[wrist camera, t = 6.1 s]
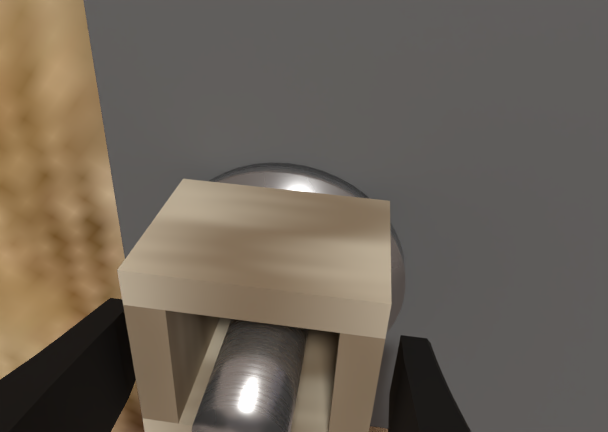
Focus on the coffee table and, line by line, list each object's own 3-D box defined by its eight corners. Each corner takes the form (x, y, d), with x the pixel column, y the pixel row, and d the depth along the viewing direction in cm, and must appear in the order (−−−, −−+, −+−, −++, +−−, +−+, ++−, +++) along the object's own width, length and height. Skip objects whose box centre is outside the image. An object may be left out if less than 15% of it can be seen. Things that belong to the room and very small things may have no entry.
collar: (390, 201, 13) (391, 303, 10) (366, 353, 16) (361, 474, 13) (183, 178, 14) (117, 270, 10) (195, 330, 17) (146, 441, 13)
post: (423, 176, 14) (445, 336, 9) (387, 368, 17) (389, 556, 12) (159, 150, 14) (40, 285, 9) (180, 340, 18) (101, 509, 13)
